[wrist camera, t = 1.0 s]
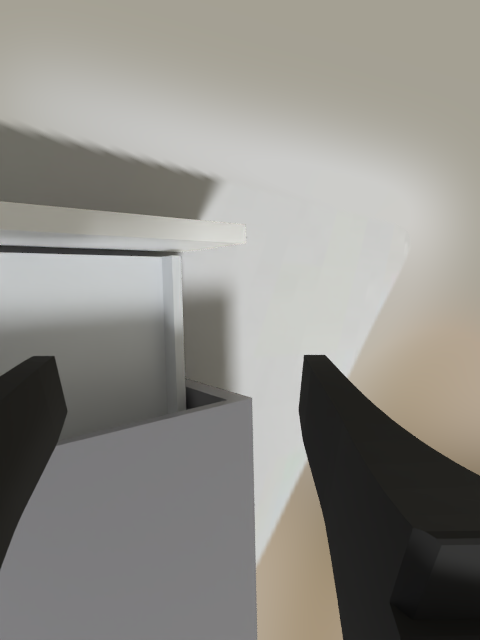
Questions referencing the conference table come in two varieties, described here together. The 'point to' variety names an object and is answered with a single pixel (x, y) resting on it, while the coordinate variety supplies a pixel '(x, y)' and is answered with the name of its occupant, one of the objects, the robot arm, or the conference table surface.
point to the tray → (101, 307)
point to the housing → (141, 532)
